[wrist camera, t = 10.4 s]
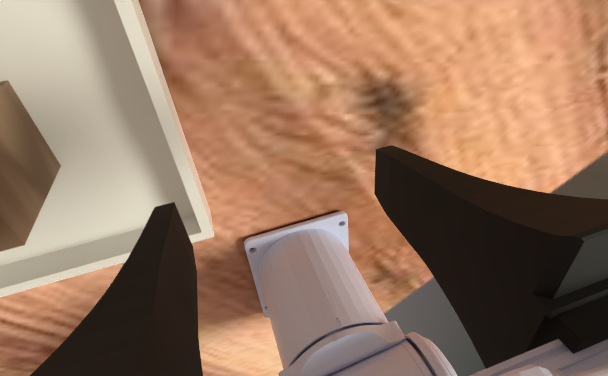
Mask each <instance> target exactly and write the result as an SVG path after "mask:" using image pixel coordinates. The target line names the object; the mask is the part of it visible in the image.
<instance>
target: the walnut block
mask: <svg viewBox="0 0 608 376" xmlns="http://www.w3.org/2000/svg"><path fill="white" fill-rule="evenodd" d="M60 167H61V165H60V163H59V162H58V160H57V158H56V157H55V155H54V154H53V152H52V150H51V149H50V147H49V146H48V144H47V142H46V141H45V139H44V138H43V136H42V134H41V133H40V131H39V129H38V128H37V126H36V125H35V123H34V121H33V120H32V118H31V117H30V115H29V113H28V112H27V110H26V109H25V107H24V105H23V104H22V102H21V100H20V99H19V97H18V96H17V94H16V92H15V91H14V89H13V88H12V86H11V84H10V83H9V81H8V80H7V81H1V82H0V252H1V251H5V250H8V249H12V248H16V247H20V246H24V245H25V243H26V241H27V239H28V237H29V234H30V232H31V230H32V228H33V226H34V224H35V221H36V219H37V217H38V215H39V213H40V210H41V208H42V206H43V204H44V202H45V200H46V197H47V195H48V193H49V191H50V189H51V187H52V184H53V182H54V180H55V178H56V176H57V174H58V171H59V169H60Z"/></svg>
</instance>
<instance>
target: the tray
mask: <svg viewBox="0 0 608 376" xmlns="http://www.w3.org/2000/svg"><path fill="white" fill-rule="evenodd" d="M7 80H8V81H9V83H10V84H11V86H12V88H13V89H14V91H15V92H16V94H17V96H18V97H19V99H20V100H21V102H22V104H23V105H24V107H25V109H26V110H27V112H28V113H29V115H30V117H31V118H32V120H33V121H34V123H35V125H36V126H37V128H38V129H39V131H40V133H41V134H42V136H43V138H44V139H45V141H46V142H47V144H48V146H49V147H50V149H51V150H52V152H53V154H54V155H55V157H56V158H57V160H58V162H59V163H60V165H61V167H60V169H59V171H58V174H57V176H56V178H55V180H54V182H53V184H52V187H51V189H50V191H49V193H48V195H47V197H46V200H45V202H44V204H43V206H42V208H41V210H40V213H39V215H38V217H37V219H36V221H35V224H34V226H33V228H32V230H31V232H30V234H29V237H28V239H27V241H26V243H25V245H24V246H20V247H16V248H12V249H8V250H5V251H1V252H0V297H4V296H7V295H11V294H14V293H18V292H21V291H25V290H28V289H32V288H36V287H39V286H43V285H46V284H50V283H53V282H57V281H60V280H64V279H67V278H71V277H74V276H78V275H81V274H85V273H88V272H92V271H95V270H99V269H102V268H106V267H109V266H113V265H116V264H120V263H123V262H126V260H127V259H128V257H129V255H130V253H131V252H132V250H133V248H134V246H135V244H136V243H137V241H138V239H139V237H140V235H141V233H142V231H143V229H144V227H145V225H146V223H147V221H148V219H149V217H150V215H151V213H152V211H153V209H154V208H155V207H157V206H161V205H165V204H168V203H172V202H175V205H176V207H177V210H178V212H179V214H180V217H181V219H182V222H183V224H184V226H185V229H186V231H187V234H188V236H189V239H190V241H191V243H194V242H197V241H201V240H204V239H208V238H211V237H214V231H213V225H212V219H211V212H210V209H209V206H208V203H207V200H206V197H205V194H204V191H203V188H202V186H201V183H200V180H199V177H198V174H197V171H196V168H195V165H194V162H193V159H192V156H191V153H190V150H189V147H188V144H187V142H186V139H185V136H184V133H183V130H182V127H181V124H180V121H179V118H178V115H177V112H176V109H175V106H174V103H173V101H172V98H171V95H170V92H169V89H168V86H167V83H166V80H165V77H164V74H163V71H162V68H161V65H160V62H159V59H158V57H157V54H156V51H155V48H154V45H153V42H152V39H151V36H150V33H149V30H148V27H147V24H146V21H145V18H144V16H143V13H142V10H141V7H140V4H139V1H138V0H0V82H1V81H7Z"/></svg>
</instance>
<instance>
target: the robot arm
mask: <svg viewBox="0 0 608 376" xmlns="http://www.w3.org/2000/svg"><path fill="white" fill-rule="evenodd" d="M375 195H376V197H377V199H378V201H379V202H380V204H381V206H382V208H383V209H384V211H385V213H386V214H387V216H388V217H389V218H390V220H391V221H392V222H393V223H394V225H395V226H396V227H397V228H398V230H399V231H400V232H401V233H402V235H403V236H404V237H405V238H406V240H407V241H408V242H409V243H410V245H411V246H412V247H413V248H414V250H415V251H416V252H417V253H418V255H419V256H420V257H421V258H422V260H423V261H424V262H425V264H426V265H427V267H428V268H429V269H430V271H431V273H432V274H433V276H434V277H435V279H436V280H437V282H438V284H439V285H440V287H441V288H442V290H443V292H444V293H445V295H446V297H447V298H448V300H449V301H450V303H451V305H452V307H453V308H454V310H455V312H456V313H457V315H458V317H459V319H460V321H461V322H462V324H463V326H464V328H465V330H466V331H467V333H468V335H469V337H470V339H471V340H472V342H473V344H474V346H475V348H476V350H477V352H478V354H479V356H480V358H481V360H482V362H483V364H484V366H485V368H486V369H485V370H482V371H480V372H478V373H475V374H473V375H470V376H608V200H606V199H593V198H580V197H571V196H564V195H556V194H549V193H543V192H537V191H532V190H527V189H521V188H516V187H512V186H507V185H503V184H499V183H496V182H492V181H488V180H484V179H481V178H478V177H474V176H471V175H468V174H465V173H462V172H459V171H456V170H454V169H451V168H448V167H446V166H443V165H440V164H438V163H435V162H433V161H430V160H428V159H425V158H423V157H420V156H418V155H416V154H413V153H411V152H408V151H406V150H403V149H400V148H398V147H395V146H387V147H383V148H380V149H376V166H375ZM341 221H342V222H341ZM340 222H341V223H340ZM244 247H245V251H246V254H247V258H248V261H249V265H250V268H251V272H252V275H253V279H254V282H255V286H256V289H257V293H258V296H259V300H260V303H261V307H262V310H263V313H264V316H265V317H270V321H271V325H272V329H273V332H274V336H275V340H276V343H277V347H278V351H279V354H280V358H281V362H282V365H283V369H284V370H282V371H281V372H279V376H457V374H456V373H455V371H454V369H453V368H452V366H451V365H450V363H449V362H448V360H447V359H446V358H445V356H444V355H443V354H442V352H441V351H440V350H439V349H438V348H437V346H436V345H435V344H434V343H433V342H431V341H430V340H429V339H427V338H424V337H422V336H420V335H419V334H417V333H415V332H412V333H409V334H407V335H404V334H403V332H402V331H401V329H400V328H399V326H398V324H397V322H396V321H391V322H389V323H388V321H387V319H386V317H385V316H384V314H383V312H382V310H381V309H380V307H379V305H378V304H377V302H376V300H375V298H374V297H373V295H372V293H371V291H370V290H369V288H368V286H367V284H366V283H365V281H364V279H363V277H362V276H361V274H360V272H359V271H358V269H357V267H356V265H355V264H354V262H353V260H352V258H351V257H350V255H349V246H348V216H347V214H346V213H345V212H344V211H339V212H335V213H332V214H329V215H325V216H322V217H318V218H315V219H311V220H308V221H305V222H301V223H298V224H294V225H291V226H287V227H284V228H280V229H277V230H274V231H270V232H267V233H263V234H260V235H256V236H253V237H249V238H247V239H246V240H245V241H244ZM251 248H254V249H251ZM30 376H203V373H202V366H201V358H200V350H199V339H198V307H197V271H196V265H195V258H194V252H193V246H192V243H191V241H190V239H189V236H188V234H187V231H186V229H185V226H184V224H183V222H182V219H181V217H180V214H179V212H178V210H177V207H176V205H175V202H172V203H168V204H165V205H161V206H157V207H155V208H154V209H153V211H152V213H151V215H150V217H149V219H148V221H147V223H146V225H145V227H144V229H143V231H142V233H141V235H140V237H139V239H138V241H137V243H136V244H135V246H134V248H133V250H132V252H131V253H130V255H129V257H128V259H127V260H126V262H125V263H124V265H123V267H122V268H121V270H120V271H119V273H118V275H117V276H116V278H115V279H114V281H113V282H112V284H111V285H110V287H109V288H108V290H107V291H106V292H105V294H104V295H103V296H102V298H101V299H100V300H99V302H98V303H97V304H96V305H95V307H94V308H93V309H92V310H91V312H90V313H89V314H88V315H87V316H86V317H85V319H84V320H83V321H82V322H81V323H80V324H79V325H78V327H77V328H76V329H75V330H74V331H73V332H72V333H71V335H70V336H69V337H68V338H67V339H66V340H65V341H64V342H63V343H62V344H61V345H60V346H59V347H58V348H57V349H56V351H55V352H54V353H53V354H52V355H51V356H50V357H49V358H48V359H47V360H46V361H45V362H44V363H43V364H42V365H40V366H39V367H38V368H37V369H36V370H35V371H34V372H33V373H32V374H31V375H30Z"/></svg>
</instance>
